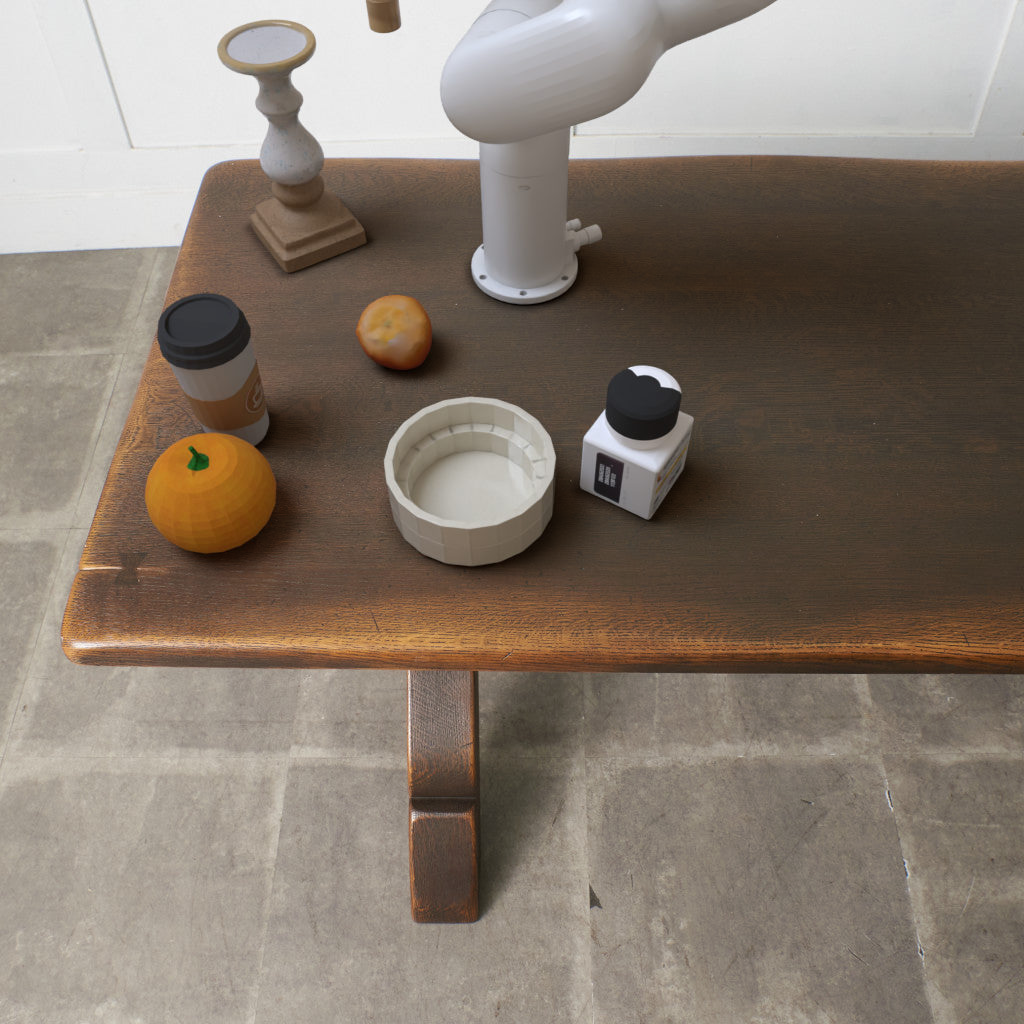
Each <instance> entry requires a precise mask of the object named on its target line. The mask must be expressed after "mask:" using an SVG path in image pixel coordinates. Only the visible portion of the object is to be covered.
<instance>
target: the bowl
mask: <svg viewBox="0 0 1024 1024" xmlns="http://www.w3.org/2000/svg"><path fill="white" fill-rule="evenodd" d="M383 466H384V475H385V483H386V488H387V493H388V498H389V503H390V508H391V514H392V518H393V521H394V524H395V525H396V527H397V528H398V530H399V533H400V534H401V535H402V538H403V539H404V541H406V542H408V543H409V544H410V545H411V546H412V547H413V548H415V550H417V551H418V552H420V553H421V554H422V555H423V556H427V557H429V558H432V559H434V560H437V561H439V562H442V563H444V564H447V565H455V566H457V565H458V566H466V567H476V566H483V565H489V564H494V563H500V562H503V561H506V560H507V559H509V558H512V557H513V556H516V555H518V554H520V553H523V552H524V551H525V550H526V549H527V548H528V547H530V546H531V545H532V544H533V543H534V542H535V541H536V540H538V539H539V538H540V537H541V536H542V534H543V533H544V531H545V529H546V527H547V525H548V523H549V522H550V520H551V519H552V516H553V511H554V503H555V497H556V495H555V494H556V473H557V471H556V470H557V455H556V451H555V447H554V444H553V440H552V437H551V436H550V434H549V433H548V431H547V430H546V429H545V427H544V426H543V425H542V424H541V422H540V421H539V420H538V419H537V418H536V417H534V416H533V415H532V414H530V413H528V412H527V411H526V410H524V409H523V408H522V407H520V406H518V405H515V404H512V403H510V402H506V401H503V400H501V399H498V398H492V397H481V396H480V397H479V396H465V397H456V398H449V399H444V400H441V401H439V402H435V403H433V404H431V405H428V406H426V407H423V408H421V409H420V410H419V411H418V412H416V413H414V414H413V415H411V416H410V417H409V418H408V419H406V420H405V421H403V423H401V425H400V426H399V427H398V429H397V430H396V432H395V433H394V435H392V437H391V438H390V440H389V443H388V445H387V449H386V452H385V456H384V459H383Z"/></svg>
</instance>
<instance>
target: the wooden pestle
mask: <svg viewBox="0 0 1024 1024" xmlns="http://www.w3.org/2000/svg"><path fill="white" fill-rule="evenodd" d="M365 6H366V13H367V19H368V26H369V29H370V30H371V31H372V32H374V33H377V34H390V33H394V32H396V31H399V29H400V28H401V27H402V16H401V8H400V0H365Z"/></svg>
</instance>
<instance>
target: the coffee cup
mask: <svg viewBox="0 0 1024 1024" xmlns="http://www.w3.org/2000/svg"><path fill="white" fill-rule="evenodd" d="M251 331H252V330H251V326H250V324H249V322H248V320H247V317H246V315H245V313H244V310H243V311H242V309H241V308H240V307H239V306H237V304H236V302H234V301H233V300H232V299H231V298H229V297H227V296H225V295H223V294H218V293H213V292H212V293H211V292H210V293H209V292H202V293H195V294H191V295H190V294H189V295H187V296H184V297H182V298H180V299H178V300H175V301H174V302H172V304H169V306H167V307H166V308H165V309H164V311H162V313H161V315H160V316H159V319H158V321H157V332H156V334H157V335H156V339H157V342H158V346H159V351H160V353H161V357H163V358H164V360H166V362H167V363H168V365H169V366H170V368H171V370H172V372H173V374H174V376H175V378H176V380H177V382H178V384H179V387H180V389H181V391H182V393H183V394H184V395H183V396H185V399H186V400H187V403H188V404H189V406H190V408H191V410H192V412H193V414H194V416H195V418H196V419H197V421H198V422H199V424H200V425H201V428H202V429H203V431H204V433H221V434H228V435H232V436H235V437H238V438H240V439H242V440H244V441H246V442H248V443H250V444H252V445H253V446H254V447H255V446H256V445H258V444H259V443H260V442H262V441H263V440H264V438H265V436H266V435H267V432H268V429H269V426H270V417H269V414H268V412H269V411H268V408H267V403H266V402H267V401H266V396H265V391H264V387H263V382H262V377H261V374H260V369H259V365H258V359H256V356H255V351H254V347H253V342H252V339H251V337H252V332H251Z"/></svg>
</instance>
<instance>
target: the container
mask: <svg viewBox="0 0 1024 1024" xmlns="http://www.w3.org/2000/svg"><path fill="white" fill-rule="evenodd" d="M682 396H683V393H682V389H681V386H680V384H679V382H678V381H677V379H675V378H674V377H673V376H672V375H671V374H670V373H668V372H667V371H665V370H664V369H661V368H659V367H655V366H651V365H633V366H631V367H627V368H625V369H622V370H620V371H619V372H617V373H616V374H615V375H613V377H611V379H610V381H609V383H608V385H607V389H606V400H605V408H604V410H603V411H602V412H601V414H600V415H599V416H598V417H597V419H596V420H595V421H594V423H592V425H591V427H590V428H589V429H588V430H587V432H586V433H585V434H584V436H583V440H582V453H581V467H580V477H579V478H580V479H579V487H580V489H581V490H583V491H585V492H587V493H588V494H592V495H593V496H596V497H598V498H600V499H602V500H604V501H606V502H608V503H610V504H612V505H615V506H617V507H619V508H620V509H621V508H622V509H623V510H626V512H627V511H628V512H629V513H631V514H634V515H636V516H637V517H640V518H642V519H644V520H650V519H652V517H653V515H654V514H655V513H656V511H657V509H658V508H659V506H660V505H661V503H662V502H663V501H664V499H665V498H666V496H667V494H668V493H669V491H670V490H671V488H673V485H674V484H675V482H676V481H677V480H678V478H679V476H680V475H681V473H682V472H683V470H684V468H685V463H686V460H687V459H686V458H687V455H688V450H689V449H688V448H689V444H690V441H691V435H692V430H693V426H694V423H695V422H694V421H695V419H694V417H693V416H692V415H689V414H688V413H685V412H683V411H681V410H680V409H681V403H682V398H683V397H682Z"/></svg>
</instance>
